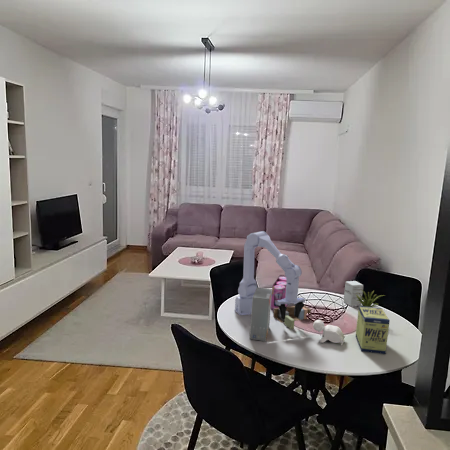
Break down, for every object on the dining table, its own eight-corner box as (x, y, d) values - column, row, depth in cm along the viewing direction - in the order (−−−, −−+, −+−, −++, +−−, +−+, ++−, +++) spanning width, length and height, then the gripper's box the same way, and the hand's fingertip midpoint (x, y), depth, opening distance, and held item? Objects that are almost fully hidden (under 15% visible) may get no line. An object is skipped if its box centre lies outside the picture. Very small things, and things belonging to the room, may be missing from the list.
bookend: (283, 321, 205) (284, 313, 204) (277, 317, 211) (278, 308, 210) (288, 321, 206) (289, 312, 205) (282, 316, 212) (283, 308, 211)
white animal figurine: (339, 344, 191) (310, 327, 195) (348, 330, 189) (318, 313, 193) (337, 352, 184) (307, 334, 187) (347, 337, 181) (316, 319, 185)
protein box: (361, 351, 179) (365, 318, 176) (354, 336, 194) (358, 305, 191) (386, 354, 178) (390, 320, 175) (377, 338, 193) (381, 307, 190)
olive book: (290, 330, 197) (291, 320, 196) (284, 325, 203) (284, 315, 202) (293, 329, 198) (294, 320, 197) (287, 324, 203) (288, 315, 202)
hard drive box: (266, 342, 184) (269, 299, 180) (249, 339, 185) (251, 297, 182) (269, 327, 199) (272, 288, 195) (253, 325, 200) (256, 286, 197)
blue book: (300, 319, 209) (301, 310, 208) (294, 315, 214) (294, 306, 213) (303, 319, 210) (304, 310, 209) (297, 314, 215) (297, 305, 214)
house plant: (378, 316, 220) (381, 287, 217) (385, 327, 206) (389, 296, 204) (351, 314, 221) (354, 285, 218) (356, 324, 208) (359, 293, 205)
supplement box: (342, 302, 239) (345, 281, 237) (353, 301, 242) (356, 280, 239) (350, 306, 232) (352, 285, 230) (361, 305, 235) (363, 284, 232)
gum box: (283, 313, 218) (285, 288, 216) (269, 310, 221) (270, 286, 218) (291, 298, 241) (292, 276, 238) (277, 296, 243) (279, 274, 241)
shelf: (281, 323, 204) (281, 313, 203) (273, 317, 212) (274, 307, 211) (310, 319, 211) (310, 309, 210) (301, 314, 218) (302, 303, 217)
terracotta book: (304, 319, 210) (304, 309, 209) (297, 314, 215) (298, 305, 214) (307, 318, 210) (307, 309, 210) (300, 314, 216) (301, 305, 215)
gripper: (283, 295, 191) (281, 322, 193) (309, 292, 196) (307, 319, 199) (275, 290, 197) (273, 316, 199) (301, 287, 203) (299, 313, 205)
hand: (289, 317), depth 199 cm, fingers open, 7 cm apart
